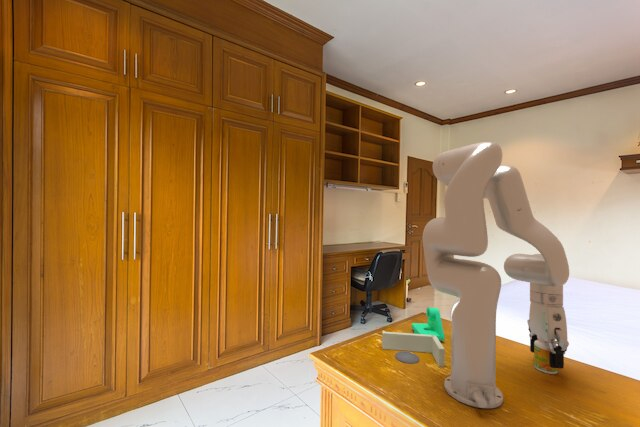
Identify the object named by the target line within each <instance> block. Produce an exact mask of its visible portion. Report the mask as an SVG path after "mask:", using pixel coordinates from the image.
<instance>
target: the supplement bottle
mask: <svg viewBox="0 0 640 427" xmlns="http://www.w3.org/2000/svg"><path fill="white" fill-rule="evenodd" d="M537 338H538V340H536V341H535V342H534V353H533V366H534V368H535V369H536V370H538V371H540V372H543V373H545V374H549V375H550V374H551V375H556V374H557V373H558V372H559V368H551V367H550V366H549V352H551V349H550V346H549V343H548V342H546V341H545V340H543V339H542V338H540V337H539V336H537ZM551 340H553V341H556V339H551ZM556 346H558V344H554V347H556Z"/></svg>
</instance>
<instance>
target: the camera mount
mask: <svg viewBox="0 0 640 427" xmlns="http://www.w3.org/2000/svg"><path fill="white" fill-rule="evenodd" d="M425 310H426V312H425V313H426V318H427V323H426V322H425V323H424V322H423V323H422V322H421V323H419V322H417V323H416V322H412V323H411V329H412V330H413V334H425V335H435V336H437V338H438V339H439V341H445V332H444V327H443V322H442V317H441V312H440V310H439V307H426V309H425Z"/></svg>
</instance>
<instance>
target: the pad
mask: <svg viewBox="0 0 640 427" xmlns="http://www.w3.org/2000/svg"><path fill="white" fill-rule="evenodd" d="M394 358H395V359H396V360H397V361H399V362H401V363H404V364H411V365H412V364H417V363H419V362H420V357H419V355H417V354H415V353H412V352H411V351H398V352H396V353H395V354H394Z"/></svg>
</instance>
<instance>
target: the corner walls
mask: <svg viewBox="0 0 640 427" xmlns="http://www.w3.org/2000/svg"><path fill="white" fill-rule="evenodd" d="M381 349H382V350H393V351H394V350H395V351H402V352H415V353H416V352H417V353H429V354H430V353H431V355H433V358H434V359H435V361H436V364H437V365H438V367H443V368H444V367H445V365H446V364H445V362H446V361H445V360H446V359H445V351H446V350H445V347H444V346H443V344H442V343H441V340H439V339H438V338H437V336H435V335H425V334H414V333H411V332H410V333H408V332H394V331H383V330H382V333H381Z"/></svg>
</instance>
